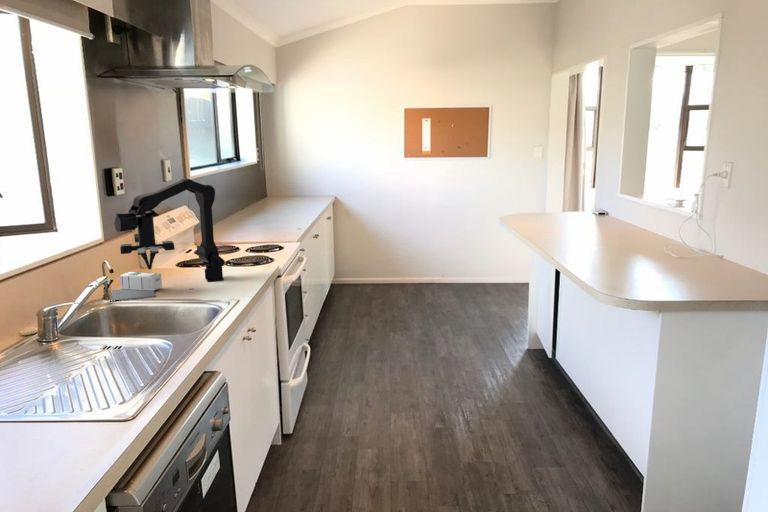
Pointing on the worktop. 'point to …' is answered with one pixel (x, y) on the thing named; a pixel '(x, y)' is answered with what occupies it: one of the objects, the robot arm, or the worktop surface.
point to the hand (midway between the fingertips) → (149, 269)
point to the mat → (131, 294)
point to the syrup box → (141, 281)
